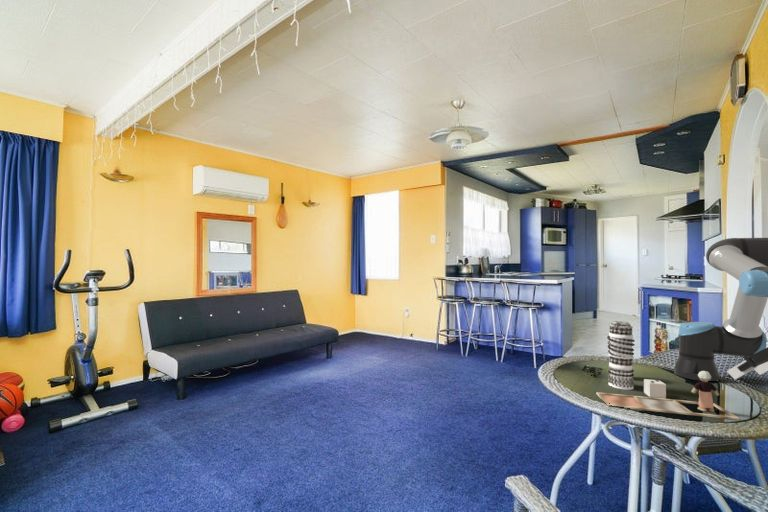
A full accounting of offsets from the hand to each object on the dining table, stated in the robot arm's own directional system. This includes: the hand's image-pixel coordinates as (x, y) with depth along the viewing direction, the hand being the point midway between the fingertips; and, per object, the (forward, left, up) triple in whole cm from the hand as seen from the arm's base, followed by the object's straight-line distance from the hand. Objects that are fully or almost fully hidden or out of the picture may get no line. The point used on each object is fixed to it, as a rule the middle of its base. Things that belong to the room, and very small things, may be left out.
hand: (743, 373), depth 111 cm
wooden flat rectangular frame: (+13, -15, -15) cm, 25 cm away
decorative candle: (+10, -35, -15) cm, 40 cm away
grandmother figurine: (+2, -10, -15) cm, 18 cm away
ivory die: (+6, -24, -15) cm, 29 cm away
